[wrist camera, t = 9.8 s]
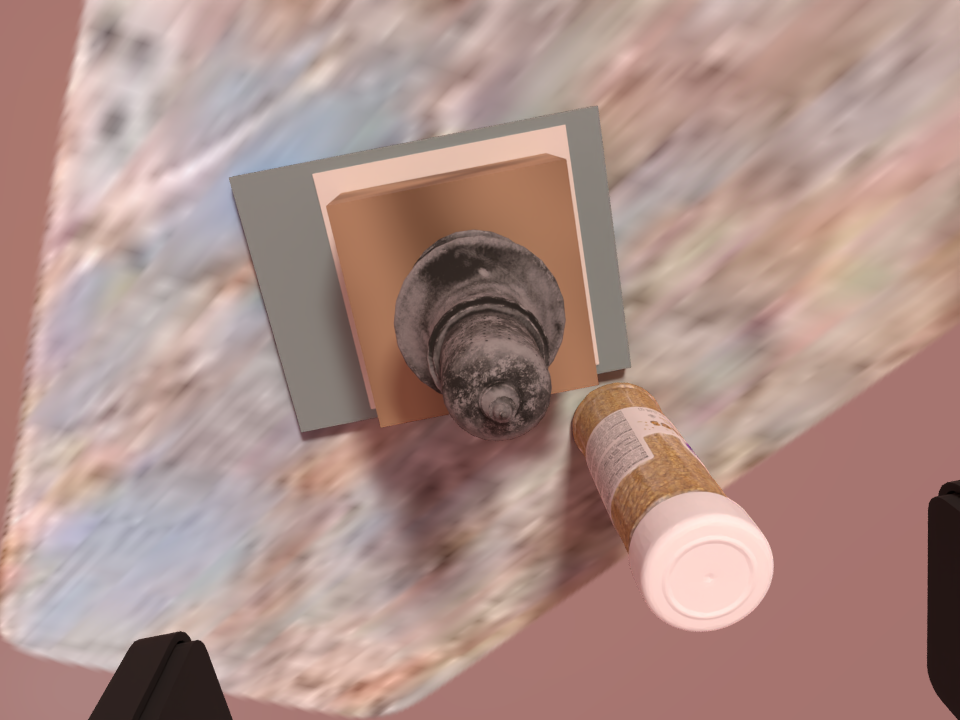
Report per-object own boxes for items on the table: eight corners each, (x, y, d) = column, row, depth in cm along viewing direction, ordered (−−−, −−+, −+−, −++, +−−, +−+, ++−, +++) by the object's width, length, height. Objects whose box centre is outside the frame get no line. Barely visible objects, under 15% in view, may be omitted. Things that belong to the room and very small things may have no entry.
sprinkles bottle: (677, 418, 38) (806, 573, 25) (612, 480, 38) (705, 661, 26) (615, 360, 36) (716, 491, 24) (549, 425, 37) (613, 586, 24)
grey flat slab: (593, 106, 33) (598, 105, 32) (627, 362, 36) (631, 367, 36) (233, 176, 33) (228, 177, 32) (303, 425, 36) (300, 433, 35)
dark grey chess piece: (501, 394, 30) (545, 563, 19) (370, 327, 29) (333, 463, 18) (578, 269, 29) (676, 368, 17) (444, 192, 28) (455, 244, 16)
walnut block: (546, 152, 32) (566, 158, 27) (575, 348, 35) (598, 384, 30) (340, 192, 32) (325, 205, 27) (387, 385, 35) (380, 427, 30)
